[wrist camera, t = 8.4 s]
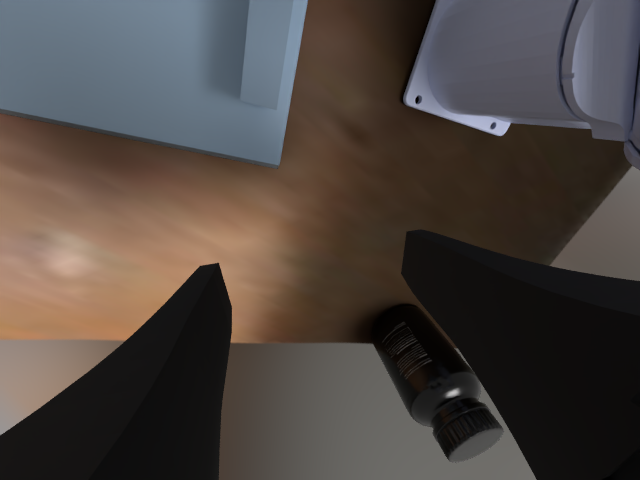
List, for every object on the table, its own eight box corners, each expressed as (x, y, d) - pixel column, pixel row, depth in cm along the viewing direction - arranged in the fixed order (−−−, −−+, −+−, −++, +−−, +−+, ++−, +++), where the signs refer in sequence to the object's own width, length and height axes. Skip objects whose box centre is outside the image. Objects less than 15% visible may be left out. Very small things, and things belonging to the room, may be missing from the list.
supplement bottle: (371, 353, 30) (431, 480, 20) (367, 313, 27) (437, 443, 17) (422, 336, 31) (506, 450, 21) (425, 295, 28) (527, 408, 18)
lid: (314, -63, 13) (352, -165, 8) (277, 160, 17) (286, 182, 12) (-97, -273, 8) (-592, -805, 3) (1, 102, 13) (-151, 102, 8)
